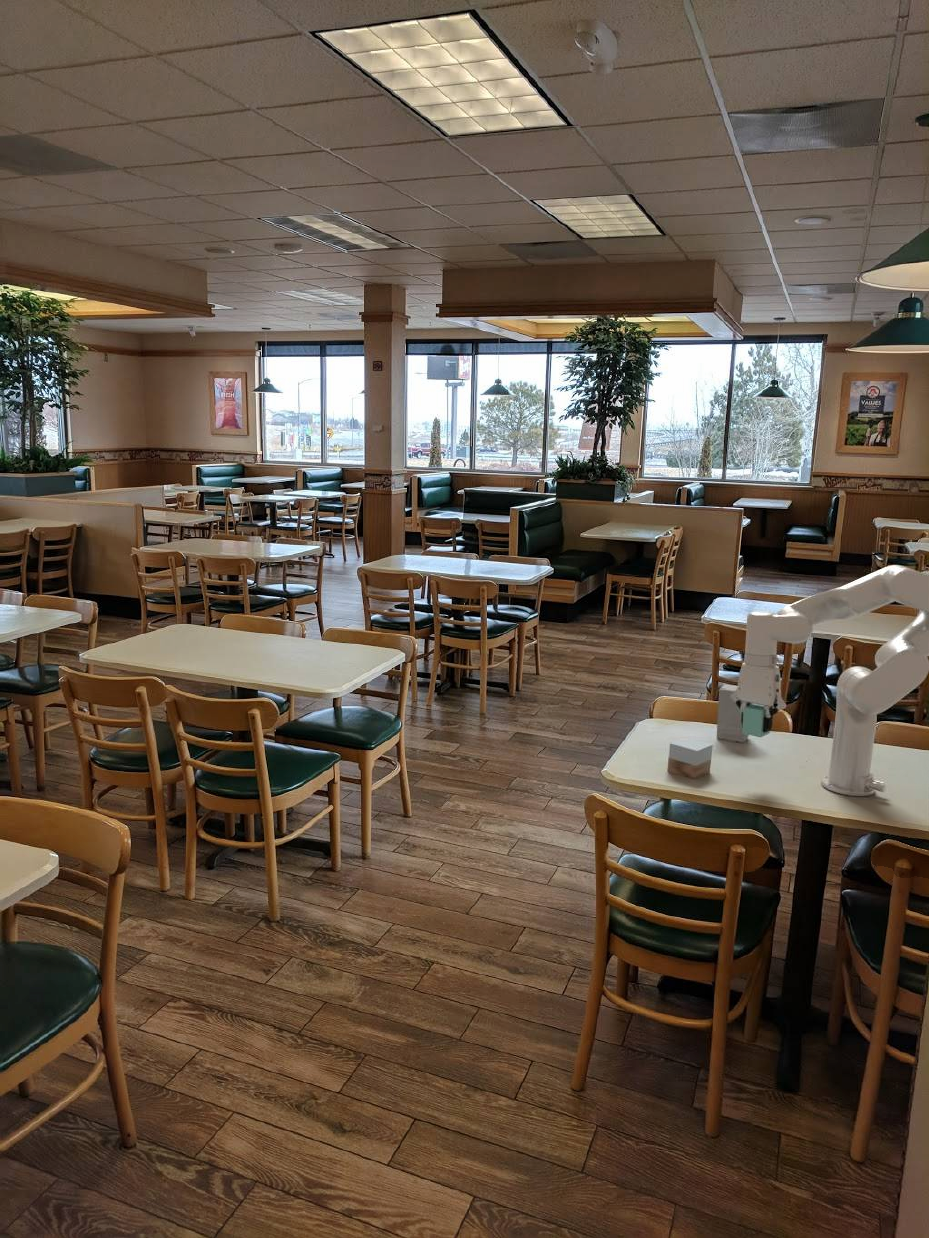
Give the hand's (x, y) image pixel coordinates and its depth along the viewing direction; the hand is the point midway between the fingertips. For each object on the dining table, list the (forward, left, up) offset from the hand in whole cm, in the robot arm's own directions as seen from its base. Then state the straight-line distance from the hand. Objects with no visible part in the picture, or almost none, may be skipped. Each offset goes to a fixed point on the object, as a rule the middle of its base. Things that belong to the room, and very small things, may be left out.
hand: (756, 728), depth 229 cm
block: (0, 0, -1) cm, 1 cm away
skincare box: (+21, -28, -14) cm, 38 cm away
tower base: (+14, +8, -14) cm, 21 cm away
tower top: (+14, +8, -10) cm, 19 cm away
